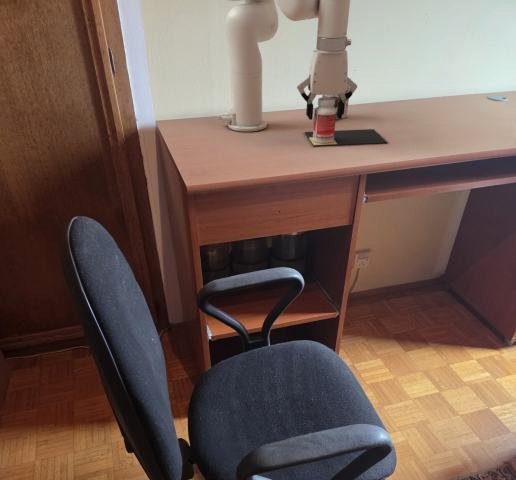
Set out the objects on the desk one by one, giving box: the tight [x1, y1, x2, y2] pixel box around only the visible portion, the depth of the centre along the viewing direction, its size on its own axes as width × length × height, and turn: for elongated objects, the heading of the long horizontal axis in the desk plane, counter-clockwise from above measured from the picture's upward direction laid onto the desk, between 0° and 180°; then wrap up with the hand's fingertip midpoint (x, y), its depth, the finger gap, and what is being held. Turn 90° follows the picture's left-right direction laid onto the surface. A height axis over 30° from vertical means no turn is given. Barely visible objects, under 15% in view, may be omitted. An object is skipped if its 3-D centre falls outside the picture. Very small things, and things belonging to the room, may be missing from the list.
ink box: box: [321, 77, 352, 121], centre depth 148 cm, size 8×5×12 cm, turn 131°
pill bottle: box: [312, 97, 337, 143], centre depth 129 cm, size 6×6×11 cm
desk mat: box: [304, 128, 388, 147], centre depth 135 cm, size 22×13×1 cm, turn 97°
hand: (324, 117), depth 128 cm, fingers open, 8 cm apart
